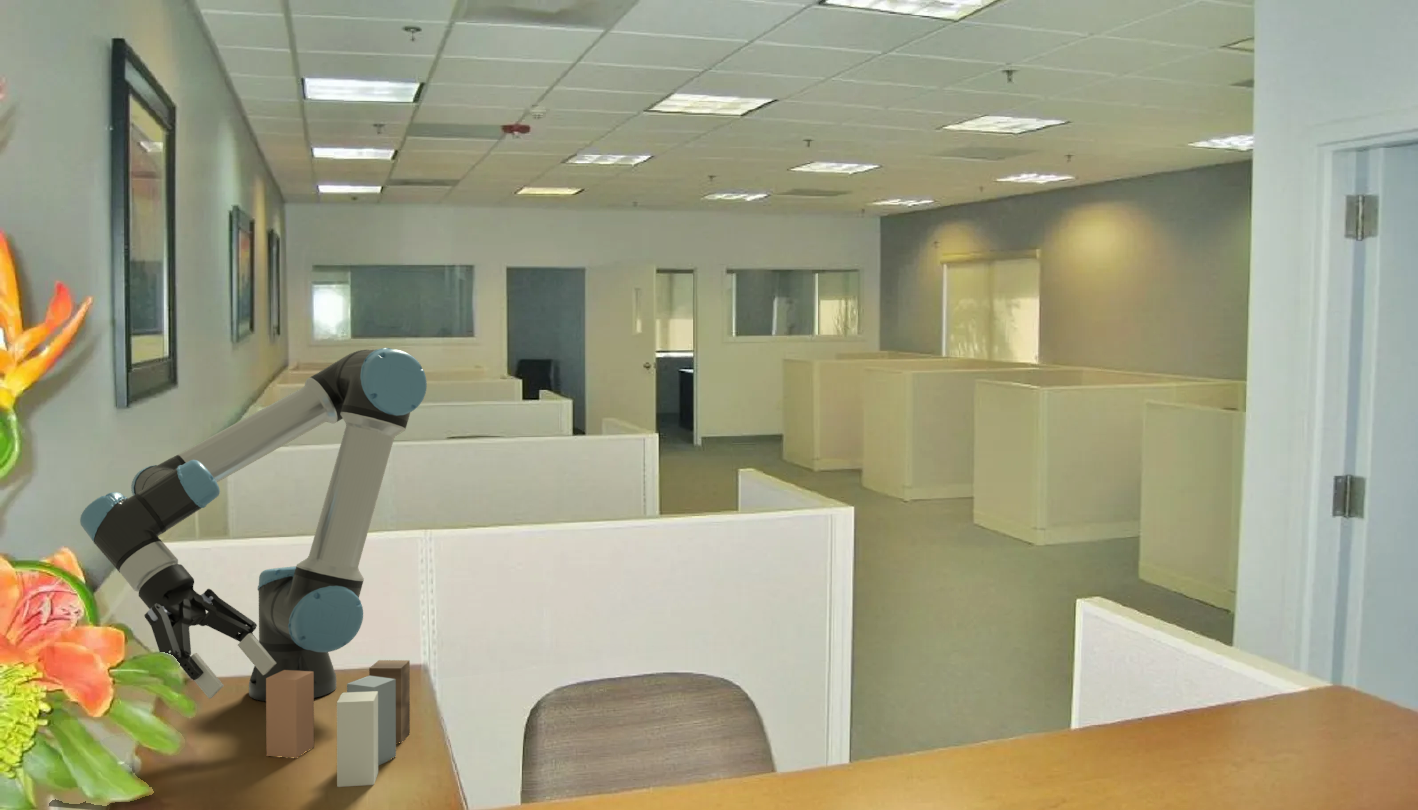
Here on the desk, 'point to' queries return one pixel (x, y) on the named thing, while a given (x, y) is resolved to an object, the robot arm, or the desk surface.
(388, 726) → the slate-grey block
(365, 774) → the off-white block
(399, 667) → the walnut block
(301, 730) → the terracotta block
